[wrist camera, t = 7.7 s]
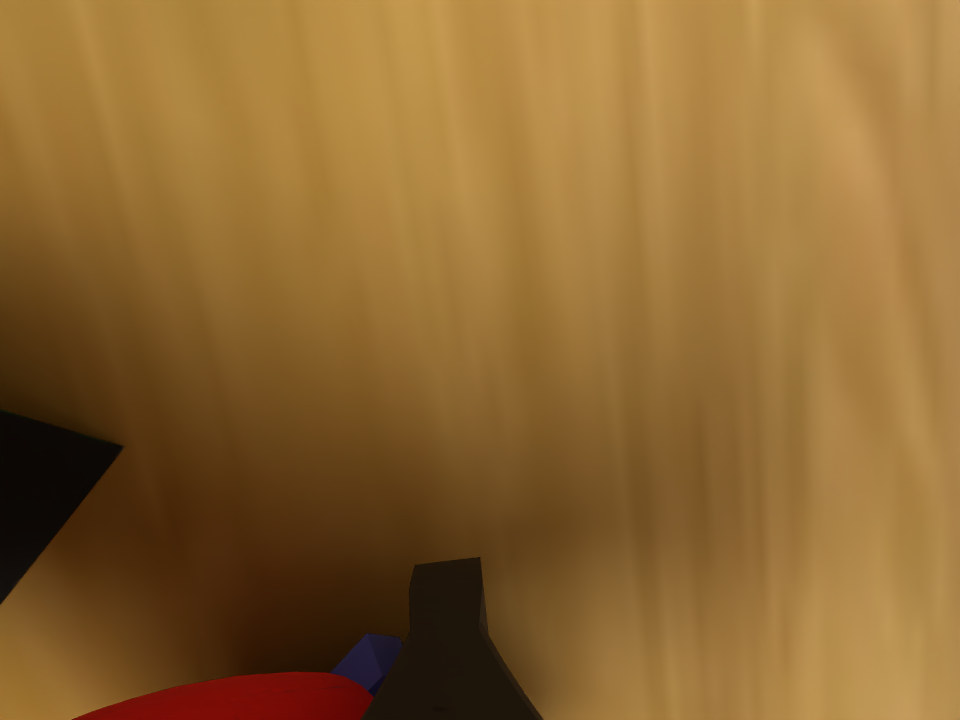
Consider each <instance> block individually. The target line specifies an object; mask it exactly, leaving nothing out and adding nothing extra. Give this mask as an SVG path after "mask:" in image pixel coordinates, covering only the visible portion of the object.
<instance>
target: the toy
mask: <svg viewBox="0 0 960 720" xmlns="http://www.w3.org/2000/svg"><path fill="white" fill-rule="evenodd" d="M123 449H124V447H123V446H120V445H116V444H113V443H110V442H107V441H103V440H100V439H97V438H93V437H90V436H87V435H83V434H80V433H77V432H74V431H70V430H67V429H64V428H60V427H57V426H54V425H50V424H47V423H44V422H41V421H37V420H34V419H31V418H27V417H24V416H21V415H17V414H14V413H11V412H8V411H4V410H1V409H0V604H1V603H2V601H3V600H4V599H5V598H6V596H7V595H8V594H9V593H10V591H11V590H12V589H13V588H14V586H15V585H16V584H17V583H18V581H19V580H20V579H21V577H22V576H23V575H24V574H25V572H26V571H27V570H28V569H29V567H30V566H31V565H32V564H33V562H34V561H35V560H36V559H37V557H38V556H39V555H40V553H41V552H42V551H43V550H44V548H45V547H46V546H47V545H48V543H49V542H50V541H51V540H52V538H53V537H54V536H55V535H56V533H57V532H58V531H59V529H60V528H61V527H62V526H63V524H64V523H65V522H66V521H67V519H68V518H69V517H70V516H71V514H72V513H73V512H74V511H75V509H76V508H77V507H78V505H79V504H80V503H81V502H82V500H83V499H84V498H85V497H86V495H87V494H88V493H89V492H90V490H91V489H92V488H93V487H94V485H95V484H96V483H97V481H98V480H99V479H100V478H101V476H102V475H103V474H104V473H105V471H106V470H107V469H108V468H109V466H110V465H111V464H112V463H113V461H114V460H115V459H116V458H117V456H118V455H119V454H120V452H121V451H122V450H123ZM402 646H403V645H402V642H401V640H400V637H394V636H386V635H378V634H370V633H366V634H365V636H364V637H363V638H362V639H361V640H360V641H359V642H358V643H357V644H356V645H355V646H354V647H353V648H352V650H351V651H350V652H349V653H348V654H347V655H346V656H345V657H344V658H343V659H342V660H341V661H340V662H339V664H338V665H337V666H336V667H335V668H334V669H333V670H332V671H331V672H330V673H324V672H283V673H269V674H254V675H241V676H233V677H227V678H222V679H216V680H210V681H205V682H199V683H193V684H188V685H182V686H177V687H173V688H169V689H166V690H162V691H158V692H154V693H151V694H147V695H143V696H139V697H136V698H132V699H129V700H126V701H123V702H120V703H117V704H114V705H110V706H107V707H104V708H101V709H98V710H95V711H92V712H90V713H87V714H84V715H82V716H79V717H77V718H74V719H72V720H360V719H361V718H362V716H363V714H364V713H365V711H366V710H367V708H368V706H369V705H370V703H371V701H372V700H373V698H374V696H375V694H376V693H377V691H378V689H379V688H380V686H381V684H382V682H383V681H384V679H385V677H386V676H387V674H388V672H389V670H390V669H391V667H392V665H393V663H394V662H395V660H396V658H397V656H398V654H399V652H400V650H401V648H402Z"/></svg>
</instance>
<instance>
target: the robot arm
mask: <svg viewBox="0 0 960 720" xmlns="http://www.w3.org/2000/svg"><path fill="white" fill-rule="evenodd" d="M409 607H410V632H409V634H408V636H407V638H406V640H405V642H404V644H403V646H402V648H401V650H400V652H399V654H398V656H397V658H396V660H395V662H394V663H393V665H392V667H391V669H390V670H389V672H388V674H387V676H386V677H385V679H384V681H383V682H382V684H381V686H380V688H379V689H378V691H377V693H376V694H375V696H374V698H373V700H372V701H371V703H370V705H369V706H368V708H367V710H366V711H365V713H364V714H363V716H362V718H361V719H360V720H544V719H543V718H542V717H541V715H540V714H539V713H538V711H537V710H536V709H535V707H534V706H533V704H532V703H531V702H530V700H529V699H528V697H527V696H526V695H525V693H524V692H523V690H522V689H521V687H520V686H519V684H518V683H517V681H516V680H515V678H514V677H513V675H512V674H511V672H510V671H509V669H508V668H507V666H506V664H505V663H504V661H503V659H502V658H501V656H500V654H499V653H498V651H497V649H496V648H495V646H494V644H493V642H492V640H491V639H490V637H489V634H488V625H487V616H486V607H485V598H484V588H483V579H482V570H481V561H480V557H476V558H468V559H460V560H451V561H443V562H435V563H427V564H418V565H415V566H414V570H413V574H412V578H411V583H410V588H409Z"/></svg>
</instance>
